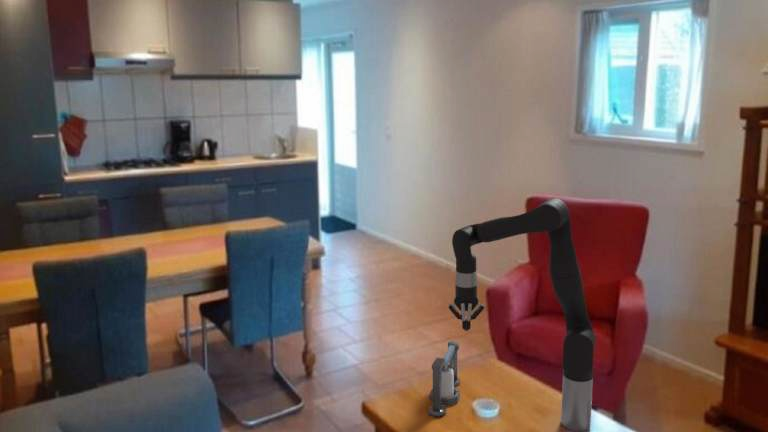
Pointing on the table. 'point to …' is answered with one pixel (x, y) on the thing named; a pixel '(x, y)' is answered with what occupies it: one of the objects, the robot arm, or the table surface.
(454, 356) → the pivot post
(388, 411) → the table surface
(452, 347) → the swing arm
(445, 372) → the can
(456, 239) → the robot arm
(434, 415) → the dark grey piece
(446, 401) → the collar
